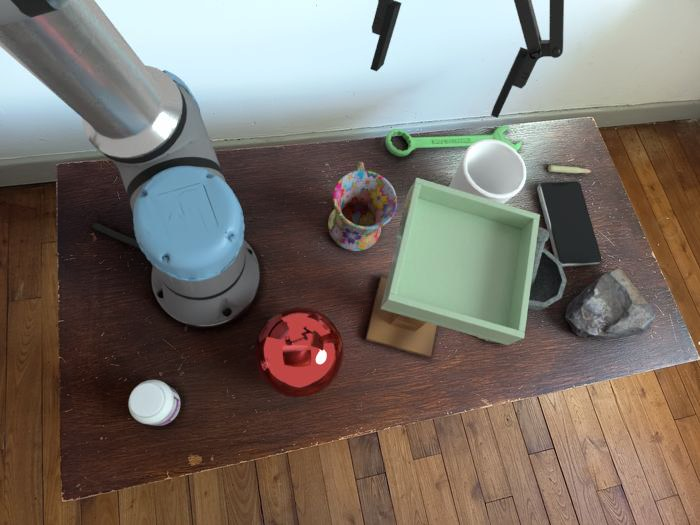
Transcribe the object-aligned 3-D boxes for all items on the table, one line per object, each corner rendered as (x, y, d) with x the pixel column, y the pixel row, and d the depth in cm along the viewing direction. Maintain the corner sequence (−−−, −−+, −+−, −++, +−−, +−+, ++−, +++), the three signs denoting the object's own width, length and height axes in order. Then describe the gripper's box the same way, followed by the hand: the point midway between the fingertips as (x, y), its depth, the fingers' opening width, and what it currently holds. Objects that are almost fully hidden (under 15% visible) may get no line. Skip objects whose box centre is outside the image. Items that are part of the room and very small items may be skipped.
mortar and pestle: (550, 313, 86) (593, 292, 75) (497, 322, 84) (533, 302, 73) (530, 248, 89) (568, 219, 78) (478, 256, 88) (510, 227, 76)
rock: (603, 263, 91) (623, 252, 86) (654, 312, 89) (678, 303, 84) (553, 318, 86) (571, 310, 81) (606, 371, 84) (628, 365, 79)
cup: (443, 171, 92) (469, 129, 80) (496, 189, 92) (531, 150, 80) (430, 221, 88) (456, 185, 76) (486, 240, 89) (521, 207, 77)
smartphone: (559, 265, 88) (538, 183, 92) (555, 267, 89) (535, 186, 93) (603, 261, 89) (580, 181, 94) (599, 264, 90) (576, 184, 95)
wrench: (519, 122, 95) (526, 149, 94) (515, 128, 97) (521, 154, 96) (384, 126, 91) (388, 154, 89) (381, 132, 93) (386, 160, 91)
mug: (383, 255, 85) (399, 229, 75) (325, 254, 84) (333, 228, 74) (379, 188, 89) (394, 154, 79) (323, 186, 88) (331, 151, 78)
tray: (380, 309, 57) (387, 299, 53) (407, 193, 62) (416, 177, 58) (508, 345, 58) (524, 338, 54) (524, 228, 63) (540, 214, 59)
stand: (364, 339, 80) (404, 295, 58) (379, 278, 84) (422, 214, 61) (428, 357, 81) (491, 320, 58) (440, 296, 84) (504, 239, 62)
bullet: (549, 172, 95) (591, 175, 96) (551, 166, 94) (594, 169, 95) (547, 169, 96) (588, 172, 97) (549, 163, 95) (591, 167, 96)
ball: (251, 400, 75) (248, 390, 63) (258, 316, 79) (257, 293, 68) (336, 403, 76) (348, 394, 65) (339, 321, 80) (351, 299, 69)
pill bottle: (133, 398, 72) (114, 390, 63) (170, 378, 74) (157, 368, 65) (150, 434, 71) (134, 431, 62) (187, 413, 73) (177, 407, 64)
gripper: (667, -107, 45) (547, 119, 59) (395, -197, 48) (340, 40, 61) (681, -104, 40) (545, 145, 53) (371, -207, 42) (316, 57, 56)
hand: (435, 89), depth 57 cm, fingers open, 13 cm apart
